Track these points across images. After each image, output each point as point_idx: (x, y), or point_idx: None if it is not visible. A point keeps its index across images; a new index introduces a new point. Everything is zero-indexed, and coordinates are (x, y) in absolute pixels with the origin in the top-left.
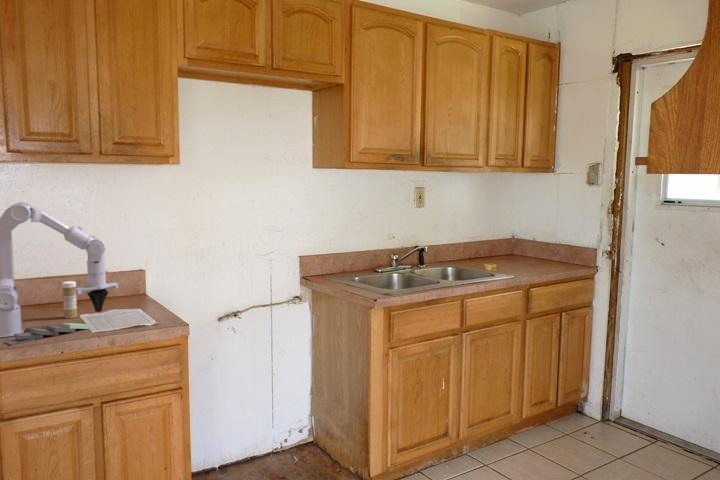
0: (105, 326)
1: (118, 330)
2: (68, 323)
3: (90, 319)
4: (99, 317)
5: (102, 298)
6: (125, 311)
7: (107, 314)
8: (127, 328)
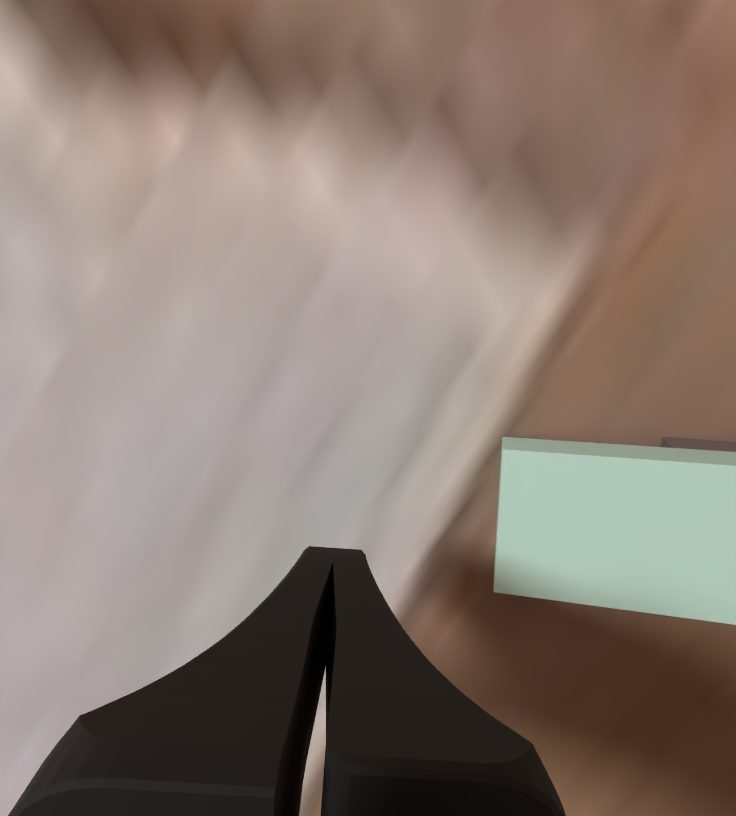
0: (343, 380)
1: (372, 60)
2: (685, 590)
3: None
4: None
5: (270, 666)
6: None
7: None
8: (247, 47)
